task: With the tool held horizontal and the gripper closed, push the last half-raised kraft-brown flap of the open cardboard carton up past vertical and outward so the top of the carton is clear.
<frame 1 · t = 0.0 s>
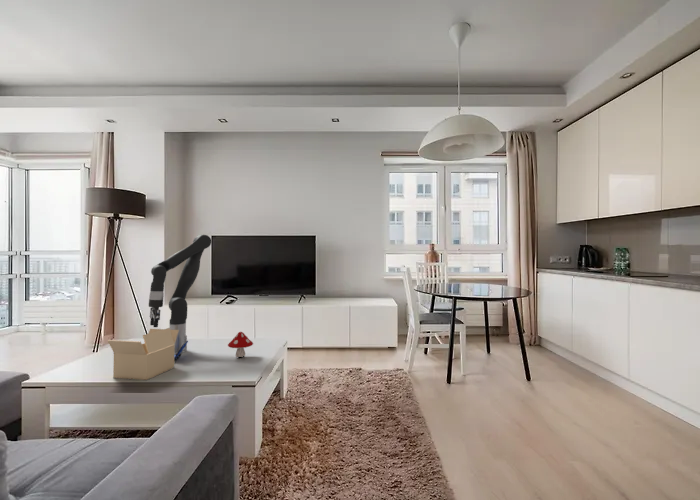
hand: (153, 326, 215), 17 cm above the table, tool pointing down, fingers open, 8 cm apart
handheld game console: (172, 360, 206), on the table
decorative mushroom: (240, 357, 210), on the table
carton: (145, 372, 182), on the table
near flap: (159, 340, 181), point 17 cm above the table, hinge at 70.0°
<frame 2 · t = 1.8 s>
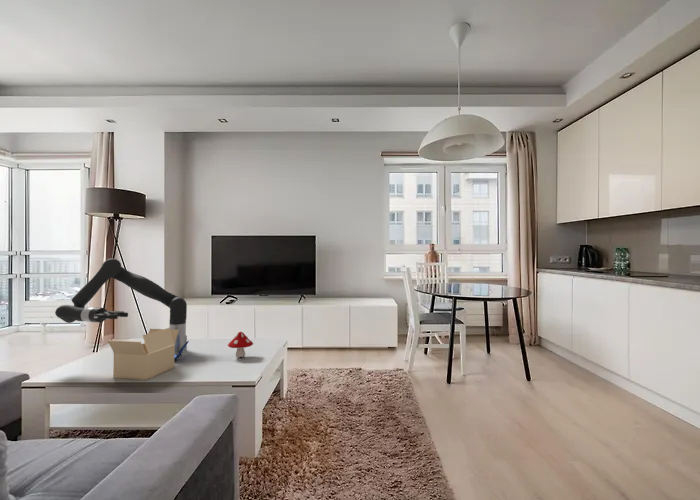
hand: (122, 315, 185), 28 cm above the table, tool horizontal, fingers open, 6 cm apart
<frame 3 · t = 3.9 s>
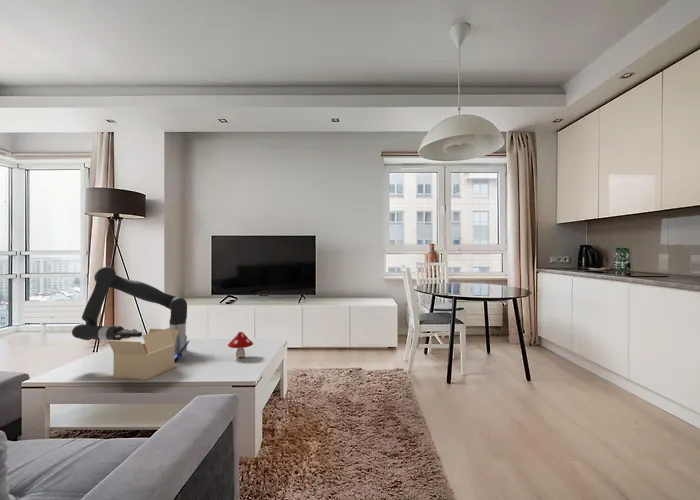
hand: (140, 334, 183), 19 cm above the table, tool horizontal, fingers closed
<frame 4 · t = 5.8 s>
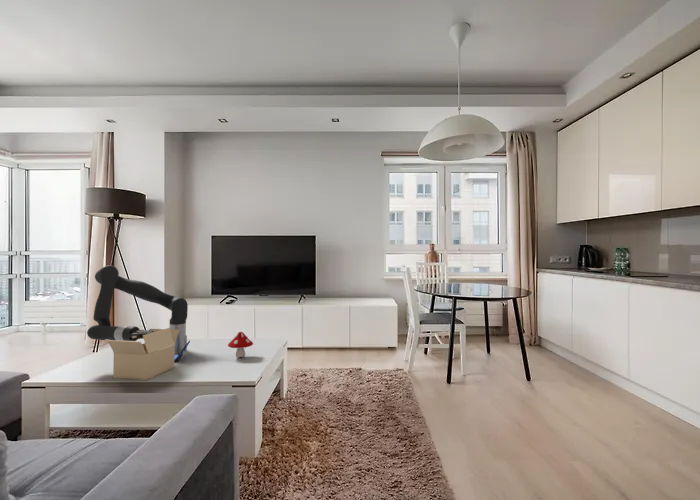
hand: (157, 334, 181), 19 cm above the table, tool horizontal, fingers closed
near flap: (159, 339, 181), point 17 cm above the table, hinge at 70.2°, touching gripper
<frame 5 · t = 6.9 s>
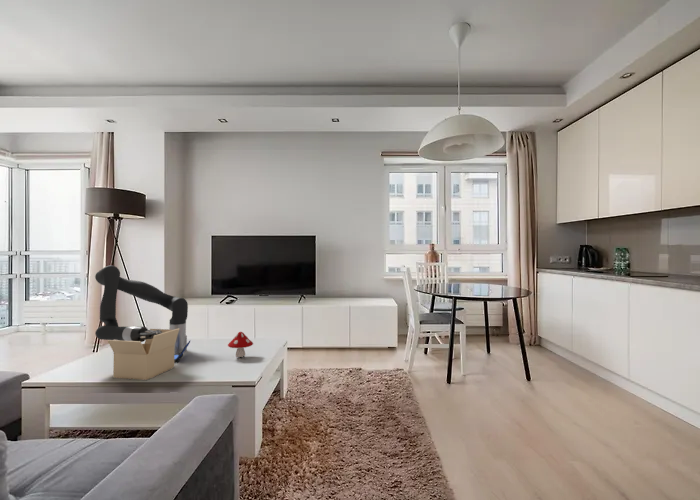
hand: (165, 335, 181), 19 cm above the table, tool horizontal, fingers closed
near flap: (164, 340, 181), point 16 cm above the table, hinge at 108.7°, touching gripper
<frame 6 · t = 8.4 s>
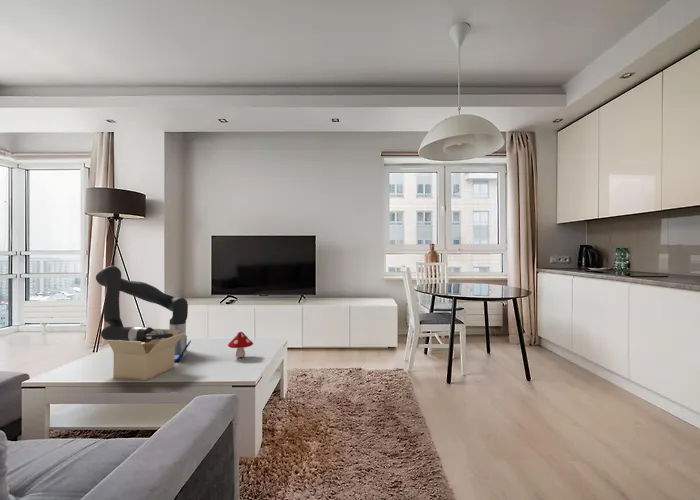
hand: (171, 335, 180), 19 cm above the table, tool horizontal, fingers closed
near flap: (167, 342, 180), point 15 cm above the table, hinge at 134.5°, touching gripper
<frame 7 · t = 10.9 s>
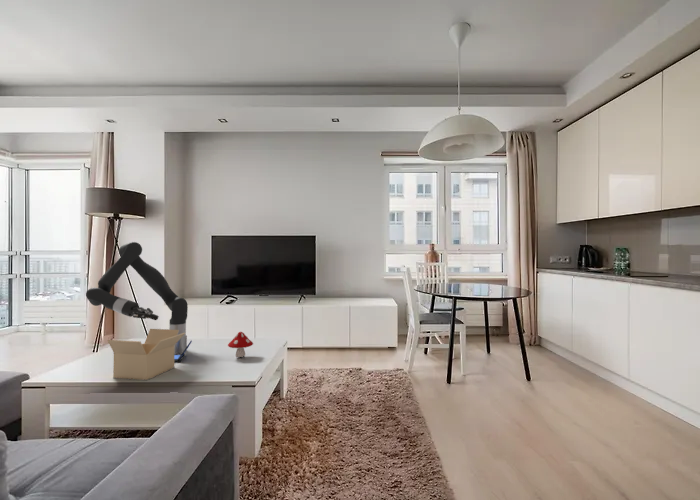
hand: (157, 318, 187), 27 cm above the table, tool tilted 70°, fingers closed
near flap: (167, 342, 180), point 15 cm above the table, hinge at 134.6°
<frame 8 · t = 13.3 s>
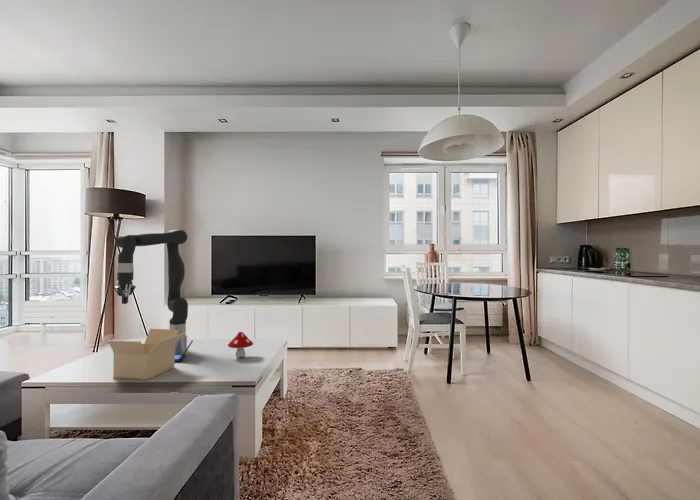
hand: (124, 303, 196), 33 cm above the table, tool pointing down, fingers closed
at the end: near flap at +135° (first picture: +70°) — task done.
